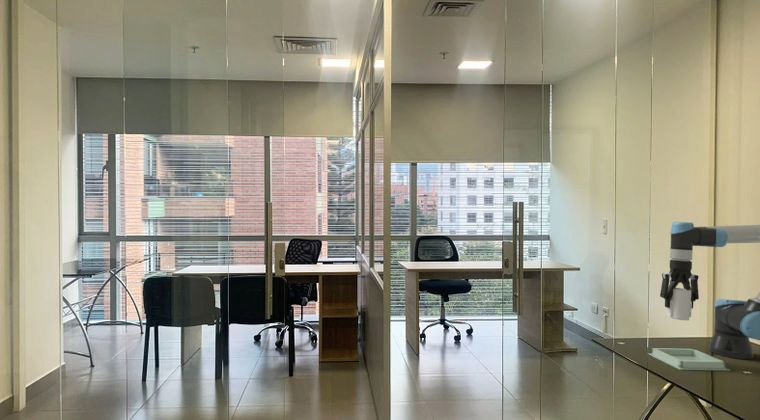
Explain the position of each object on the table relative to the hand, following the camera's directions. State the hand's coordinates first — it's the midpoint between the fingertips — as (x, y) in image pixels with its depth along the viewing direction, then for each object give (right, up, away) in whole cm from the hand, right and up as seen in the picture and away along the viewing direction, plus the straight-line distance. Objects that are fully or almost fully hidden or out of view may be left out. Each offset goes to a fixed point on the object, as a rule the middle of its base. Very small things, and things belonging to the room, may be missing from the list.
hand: (678, 315), depth 182 cm
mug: (+1, -1, 0) cm, 1 cm away
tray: (0, -17, -5) cm, 18 cm away
